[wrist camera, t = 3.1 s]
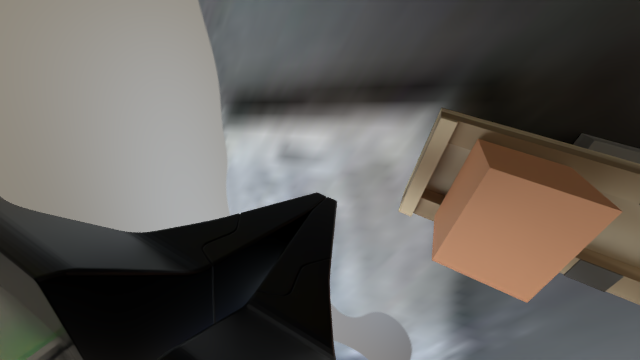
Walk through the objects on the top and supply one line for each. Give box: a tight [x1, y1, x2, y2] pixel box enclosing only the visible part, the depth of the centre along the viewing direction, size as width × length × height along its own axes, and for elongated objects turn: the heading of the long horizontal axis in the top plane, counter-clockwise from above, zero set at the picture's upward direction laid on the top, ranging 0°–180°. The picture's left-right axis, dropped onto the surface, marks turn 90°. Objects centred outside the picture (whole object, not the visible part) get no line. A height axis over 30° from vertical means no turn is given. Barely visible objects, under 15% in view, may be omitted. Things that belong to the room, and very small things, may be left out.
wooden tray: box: [399, 108, 640, 305], centre depth 13 cm, size 7×20×5 cm, turn 78°
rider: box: [432, 139, 623, 302], centre depth 12 cm, size 5×4×6 cm
